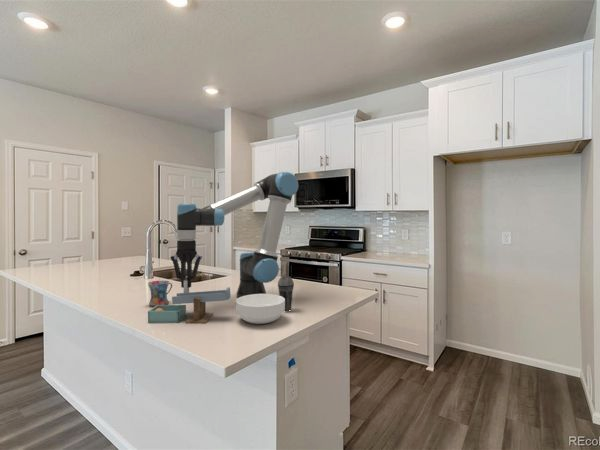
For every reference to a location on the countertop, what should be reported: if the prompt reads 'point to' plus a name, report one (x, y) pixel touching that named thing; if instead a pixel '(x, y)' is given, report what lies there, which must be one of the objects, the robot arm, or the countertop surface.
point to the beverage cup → (286, 290)
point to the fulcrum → (199, 313)
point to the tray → (167, 314)
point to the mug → (159, 292)
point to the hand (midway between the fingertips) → (186, 295)
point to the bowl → (260, 308)
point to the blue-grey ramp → (202, 296)
